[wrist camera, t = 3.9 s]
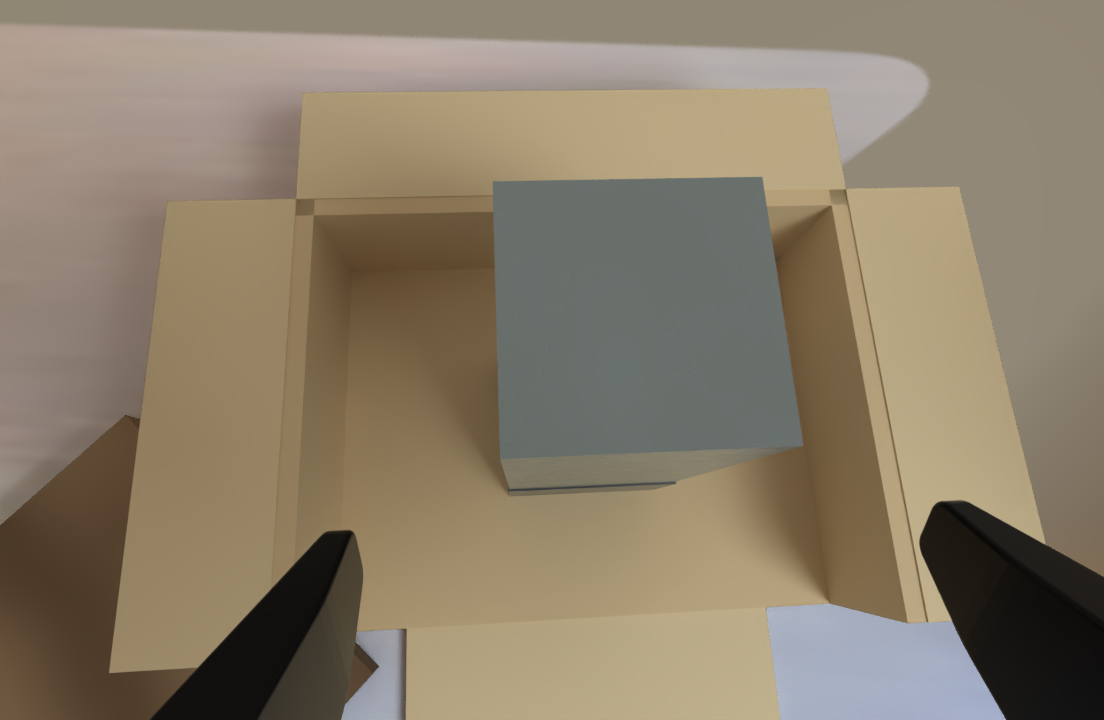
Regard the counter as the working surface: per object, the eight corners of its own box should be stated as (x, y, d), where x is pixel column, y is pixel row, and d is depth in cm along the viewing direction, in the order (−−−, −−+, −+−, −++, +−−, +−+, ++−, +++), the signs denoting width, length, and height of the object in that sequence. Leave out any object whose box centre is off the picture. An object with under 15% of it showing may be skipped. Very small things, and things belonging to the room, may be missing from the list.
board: (67, 1013, 16) (44, 1038, 15) (-177, 701, 18) (-210, 709, 17) (379, 666, 18) (372, 672, 18) (140, 419, 20) (125, 415, 19)
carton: (987, 810, 18) (1132, 898, 14) (183, 876, 17) (69, 995, 13) (859, 166, 24) (934, 87, 19) (246, 176, 22) (180, 93, 18)
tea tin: (653, 490, 20) (807, 449, 9) (509, 496, 20) (496, 463, 9) (641, 351, 21) (765, 173, 10) (505, 356, 21) (489, 178, 10)
